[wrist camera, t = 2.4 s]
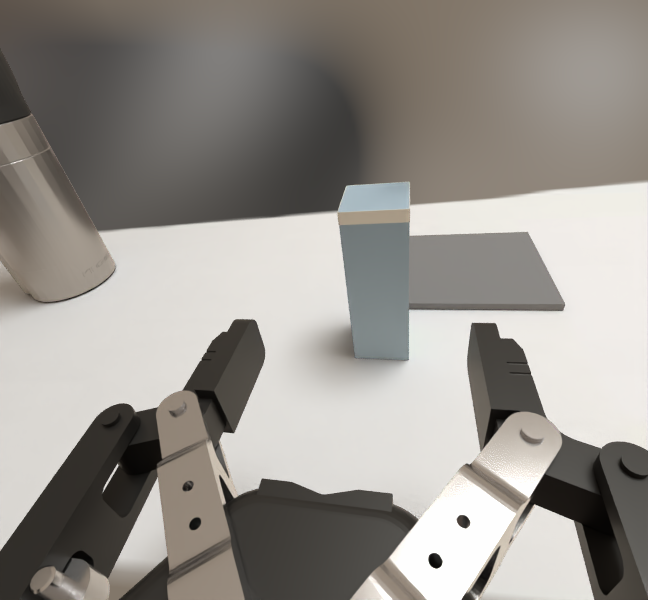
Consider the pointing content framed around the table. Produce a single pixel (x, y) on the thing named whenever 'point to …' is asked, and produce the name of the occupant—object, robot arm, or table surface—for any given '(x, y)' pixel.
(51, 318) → the table surface
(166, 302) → the table surface
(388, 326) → the blue block
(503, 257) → the mat
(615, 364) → the table surface
